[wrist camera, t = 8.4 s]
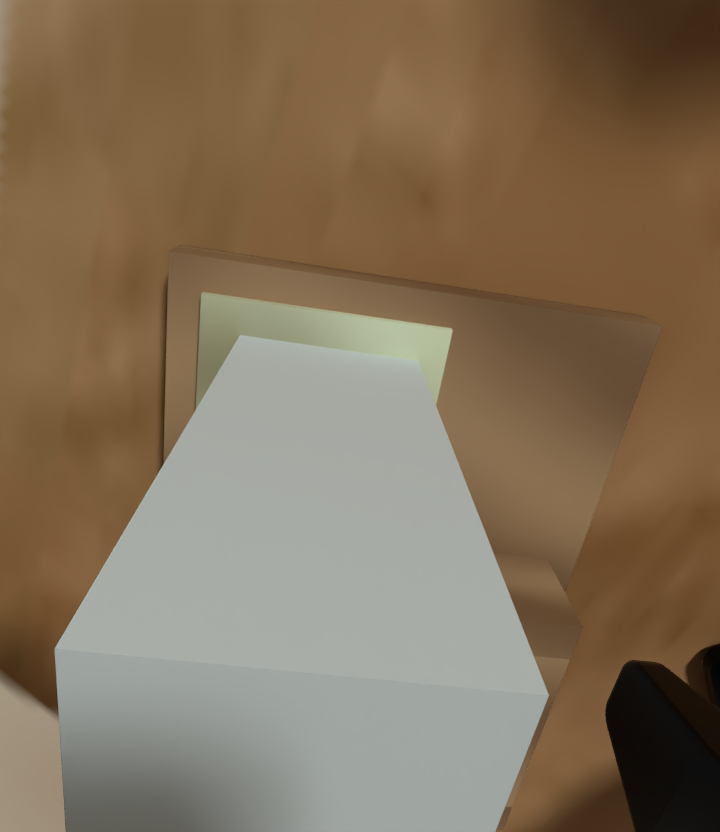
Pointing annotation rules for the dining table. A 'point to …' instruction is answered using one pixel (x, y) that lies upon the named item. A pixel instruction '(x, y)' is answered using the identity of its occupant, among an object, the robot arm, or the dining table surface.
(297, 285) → the brown slotted holder
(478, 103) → the dining table surface
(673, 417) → the dining table surface
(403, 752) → the block
